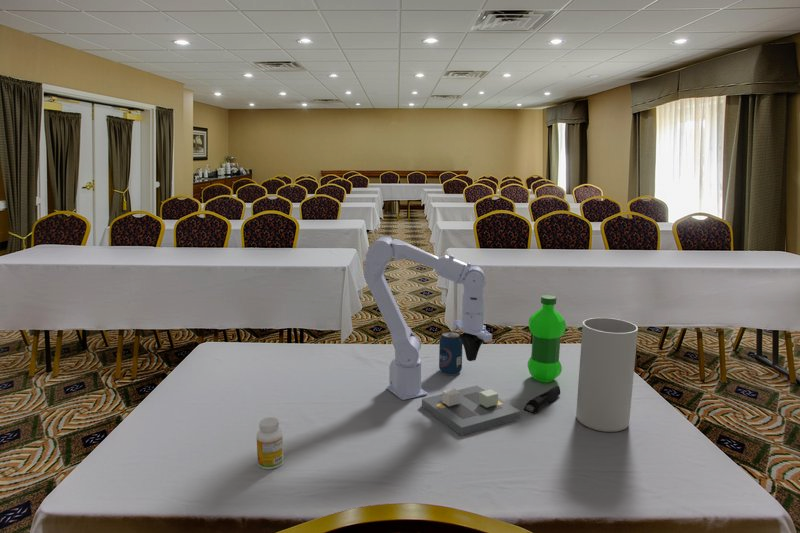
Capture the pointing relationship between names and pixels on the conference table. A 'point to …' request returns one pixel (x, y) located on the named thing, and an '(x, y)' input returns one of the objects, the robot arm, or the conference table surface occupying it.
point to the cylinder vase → (606, 373)
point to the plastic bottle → (546, 341)
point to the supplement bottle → (269, 444)
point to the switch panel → (470, 411)
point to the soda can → (450, 353)
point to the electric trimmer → (542, 400)
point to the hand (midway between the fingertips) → (471, 359)
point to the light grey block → (451, 397)
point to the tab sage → (488, 398)
